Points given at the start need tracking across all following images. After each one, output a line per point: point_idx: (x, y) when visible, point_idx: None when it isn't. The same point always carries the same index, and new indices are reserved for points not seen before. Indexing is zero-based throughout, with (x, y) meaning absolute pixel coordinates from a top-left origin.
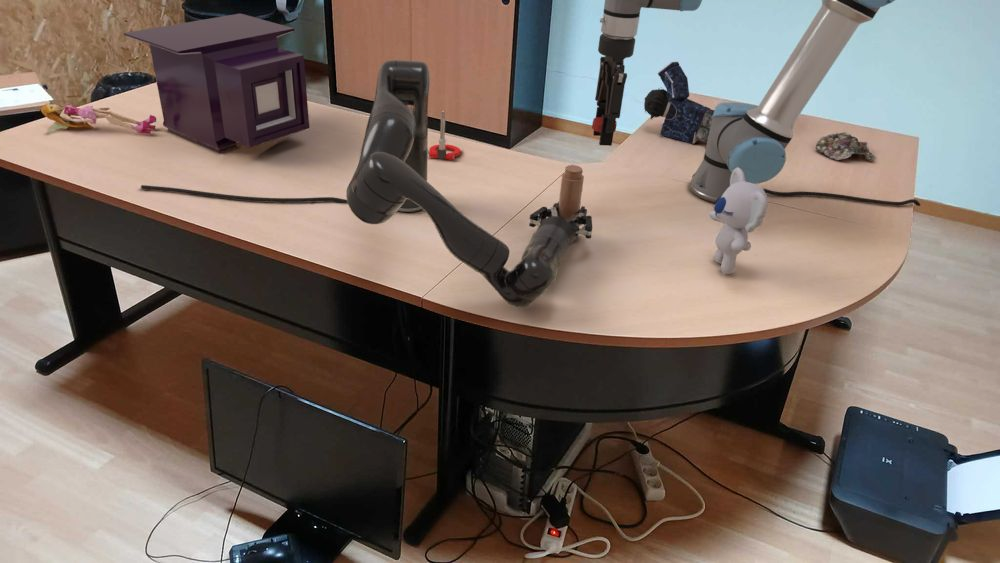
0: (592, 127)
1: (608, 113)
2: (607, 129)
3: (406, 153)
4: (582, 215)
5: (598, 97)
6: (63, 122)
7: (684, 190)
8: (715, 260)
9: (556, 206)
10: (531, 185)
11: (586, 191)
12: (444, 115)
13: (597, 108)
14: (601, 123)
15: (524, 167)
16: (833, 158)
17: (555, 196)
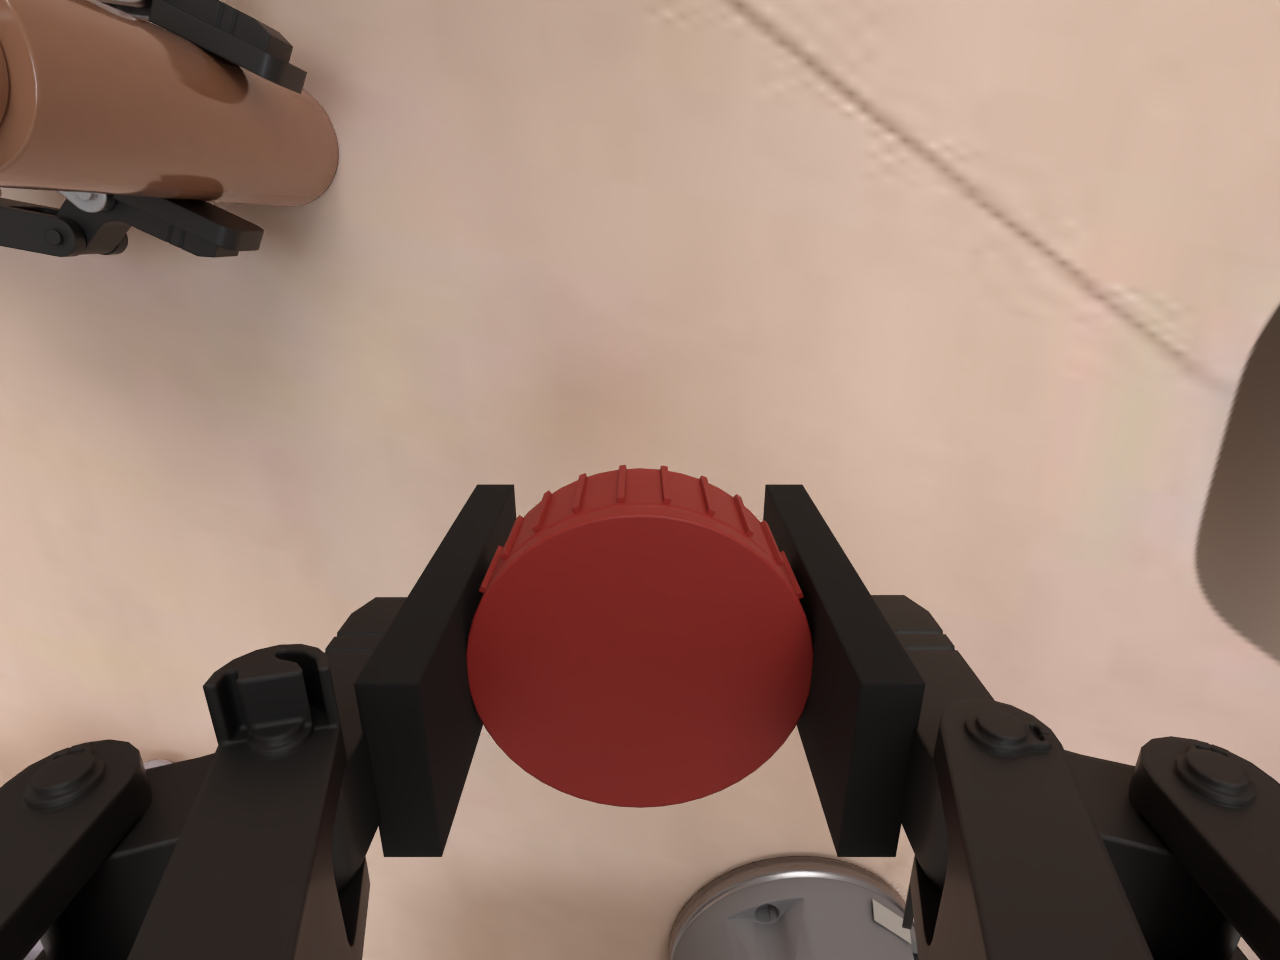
0: (654, 472)
1: (50, 808)
2: (344, 632)
3: None
4: (64, 195)
5: (1074, 842)
6: None
7: (821, 832)
8: (146, 762)
9: (175, 16)
10: (978, 49)
11: (853, 392)
12: None
13: (881, 675)
14: (509, 601)
15: (1273, 45)
16: None
17: (803, 189)
